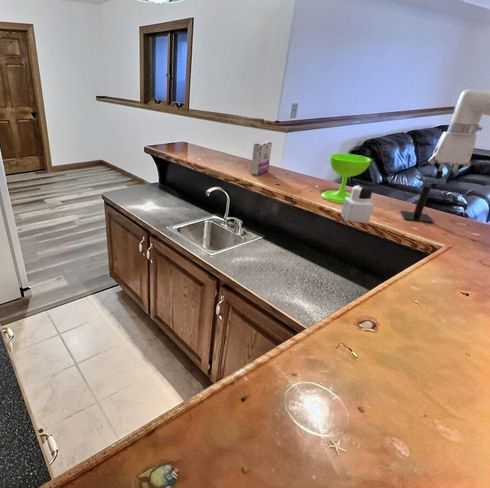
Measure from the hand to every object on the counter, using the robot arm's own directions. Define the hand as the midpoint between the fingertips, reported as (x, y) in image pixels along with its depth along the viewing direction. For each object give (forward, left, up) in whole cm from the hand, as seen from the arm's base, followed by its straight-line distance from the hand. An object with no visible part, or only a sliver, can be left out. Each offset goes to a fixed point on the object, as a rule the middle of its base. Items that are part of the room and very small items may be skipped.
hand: (441, 181), depth 126 cm
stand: (+4, 0, -16) cm, 16 cm away
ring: (+4, 0, +1) cm, 4 cm away
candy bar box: (+70, -43, -16) cm, 83 cm away
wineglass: (+30, -16, -16) cm, 37 cm away
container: (+26, +10, -16) cm, 32 cm away
